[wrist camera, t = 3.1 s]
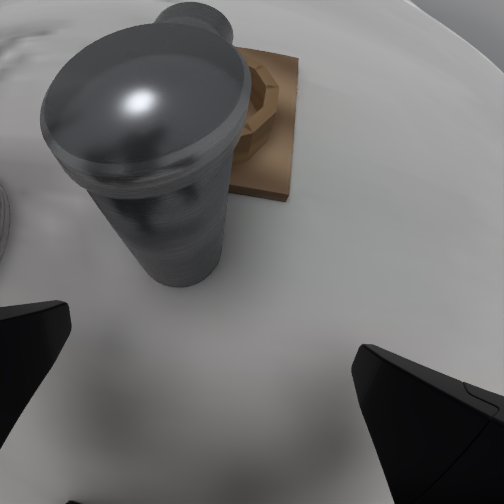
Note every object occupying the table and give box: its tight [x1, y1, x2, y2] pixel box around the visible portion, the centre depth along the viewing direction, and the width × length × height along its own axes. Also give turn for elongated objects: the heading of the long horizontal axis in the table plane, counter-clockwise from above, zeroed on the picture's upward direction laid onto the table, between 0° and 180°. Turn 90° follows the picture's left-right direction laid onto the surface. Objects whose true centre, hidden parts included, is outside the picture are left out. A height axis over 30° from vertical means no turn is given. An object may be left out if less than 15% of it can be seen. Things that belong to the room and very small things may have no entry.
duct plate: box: [228, 47, 299, 202], centre depth 20 cm, size 14×12×4 cm
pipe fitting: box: [40, 2, 252, 287], centre depth 13 cm, size 8×5×13 cm
